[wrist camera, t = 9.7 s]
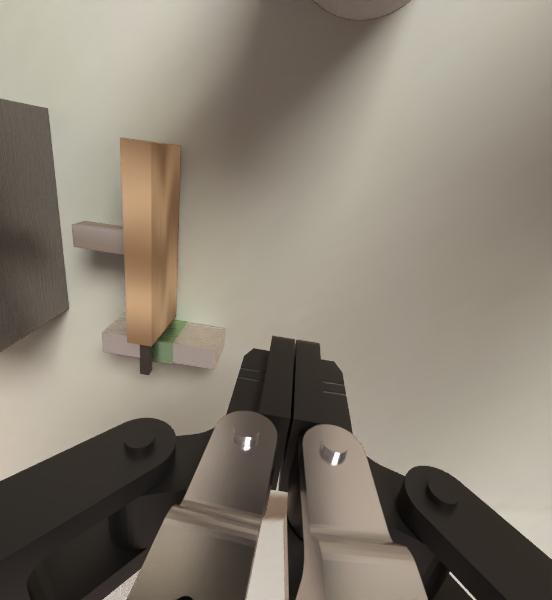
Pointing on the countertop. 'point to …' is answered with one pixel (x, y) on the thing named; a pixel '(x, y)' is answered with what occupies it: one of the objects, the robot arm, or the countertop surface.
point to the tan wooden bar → (144, 239)
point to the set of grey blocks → (58, 250)
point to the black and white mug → (360, 8)
